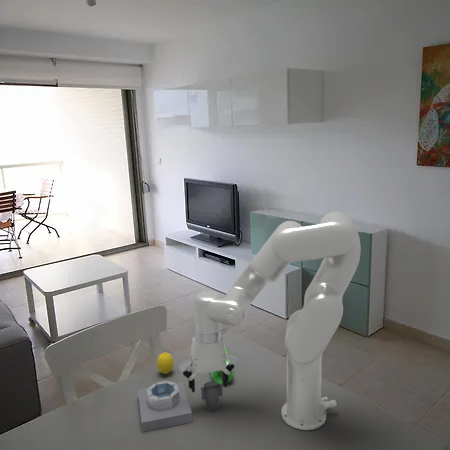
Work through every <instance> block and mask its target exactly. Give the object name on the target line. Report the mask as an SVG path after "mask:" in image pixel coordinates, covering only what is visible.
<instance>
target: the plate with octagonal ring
mask: <svg viewBox="0 0 450 450" xmlns="http://www.w3.org/2000/svg"><path fill="white" fill-rule="evenodd" d="M175 383H176V384H177V385H178V389H179V397H180V402H179V403H178V404H177V405H175V406H174V407H173V408H172V409H168V410H163V411H157V410H154V409H152V408H149V405H148V398H147V389H148V388H149V387H145V388H139V389H137V394H138V395H137V396H138V406H139V414H140V422H141V431H142V433H145V432H150V431H155V430H159V429H165V428H170V427H175V426H179V425H185V424H190V423H193V412H192V408H191V405H190V402H189V399H188V395H187V392H186V389H185V384H184V382H183V381H178V382H175ZM169 395H170V394H167V393H166V394H161V395H157V397H159V398H160V397H165V396H169ZM189 422H190V423H189ZM184 423H185V424H184Z"/></svg>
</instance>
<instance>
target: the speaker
mask: <svg viewBox="0 0 450 450" xmlns="http://www.w3.org/2000/svg"><path fill="white" fill-rule="evenodd" d="M225 351H226V354H229V352H228V347H227V346H226V345H225ZM230 362H231V361H230V360H227V359H226V366H227V365H228V364H229V363H230ZM233 374H234V368H233V369H232V370H231V371H230V374H229V375H228V383H229V382H231V381H232V378H233ZM210 376H211V378H212V381H214V382H217V383H218V384H221V385H222V386H224V385H223V383H222V370H221V371H215V372H210Z"/></svg>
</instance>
